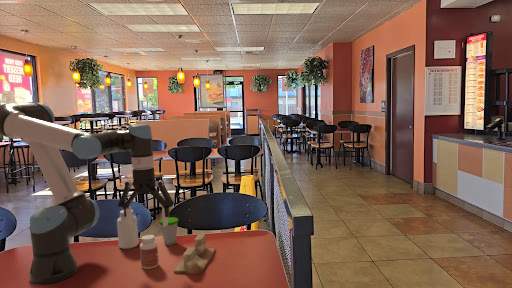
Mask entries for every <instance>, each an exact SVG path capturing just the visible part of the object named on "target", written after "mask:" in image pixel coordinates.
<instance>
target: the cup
mask: <svg viewBox="0 0 512 288" xmlns="http://www.w3.org/2000/svg"><path fill="white" fill-rule="evenodd" d="M167 218H168V225H167V226H166V227H163V218H161V219H159V221H158V223H159V225H160V229H161V233H162V239H163V242H164V243H163V244H164V245H165V246H167V247H168V246H169V247H170V246H174V245H176V243H177V235H178V234H177V233H178V222H179V218H178V217H175V216H172V217H171V216H169V217H167Z"/></svg>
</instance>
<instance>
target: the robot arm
mask: <svg viewBox="0 0 512 288" xmlns="http://www.w3.org/2000/svg"><path fill="white" fill-rule="evenodd" d="M55 121H56V119H55V115H54V112H53V110H52V109H51V108H50V107H49V106H48V105H46V104H45V103H42V102H34V101H29V102H15V103H14V102H13V103H9V102H7V103H3V104H0V136H1V137H5V138H9V139H13V140H14V139H19V138H20V139H21V142H22V143H24V144H27V145H28V146H29V148H30V150H31V152H32V154H33V157H34V158H35V160H36V164H37V165H38V167H39V169H40V171H41V173H42V176H43V178H44V180H45V181H46V184H47V185H48V187H49V190H50V192H51V194H52V196H53V198H54V201H55V202H54V204H53V205H51V206H48V207H43V208H41V209H39V210H36V211H35V212H34V213H33V214H32V215H31V216H30V218H29V227H28V228H29V231H30V233H29V234H30V240H31V241H30V242H31V247H32V255H33V257H32V261H31V265H30V269H29V270H30V271H29V281H30V282H31V283H33V284H36V285H49V284H54V283H59V282H61V281H64V280H67V279H69V278H71V277H72V276H74V275H75V274H76V273H77V272H78V262H77V261H76V259H75V257H74V254H73V252H72V250H71V244H70V239H71V238H73V237H75V236H78V235H80V234H81V233H84V232H86V231H88V230H90V229H91V228H93V227H94V226H95V225H96V224H97V223H98V220H99V218H100V209H99V206H98V204H97V202H96V201H95V200H93V199H92V198H89V197H87V196H86V193H85V192H83V191H81V190H79V189H78V187H77V184H76V183H75V181H74V179H73V177H72V175H71V172H70V171H69V168H68V165H67V164H66V162H65V160H64V157H63V156H62V154H61V152H60V150H64V151H66V152H67V151H68V152H71V153H73V154H74V155H75V156H76V157H77V158H78V159H80V160H89V159H90V160H91V159H94V158H98V157H101V156H104V155H110V154H113V153H117V152H130V157H131V168H133V169H132V170H131V171H132V179H133V181H131V180H127V181H125V182H124V189H123V191H122V194H121V196H120V198H119V201H118V204H117V207H118V208H122V210H124V216H125V217H126V218H127V226H130V225H132V224H133V223H132V211H131V209H132V206H130V205H131V204H132V202H133V201H134V200H135V198H136V197H137V196H138V194H140V195H142V194H145V195H149V194H150V195H151V196H153V198H154V199H155V200H156V201H157V202H158V203H159V204H160V205H161V207H162V209H161V214H162V215H161V216H162V219H163V227H166V226H167V225H168V218H167V217H170V212H171V211H170V208H172V207H173V206H174V205H175V202H174V200H173V199H172V197H171V194H170V193H169V191H168V190H167V188H166V186H165V181H164V180H160V181H158V180H157V181H156V179H155V178H156V177H155V176H156V175H155V167H154V166H155V161H154V151H153V134H152V127H151V125H150V124H148V123H146V124H145V123H141V124H140V123H137V124H136V123H135V124H131V125H129V127H128V130H113V129H110V130H103V131H101V132H98V133H90V132H86V131H83V130H81V129H75V128H72V127H68V126H64V125H60V124H56V122H55ZM59 149H60V150H59ZM132 187H133V188H134V190H133V192H132V193H131V194H130V195H129V193H130V191H131V188H132ZM156 187H157V188H158V189H159V191H158V189H157V188H156ZM161 194H162V195H161ZM128 196H129V197H128ZM127 198H128V199H127Z"/></svg>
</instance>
